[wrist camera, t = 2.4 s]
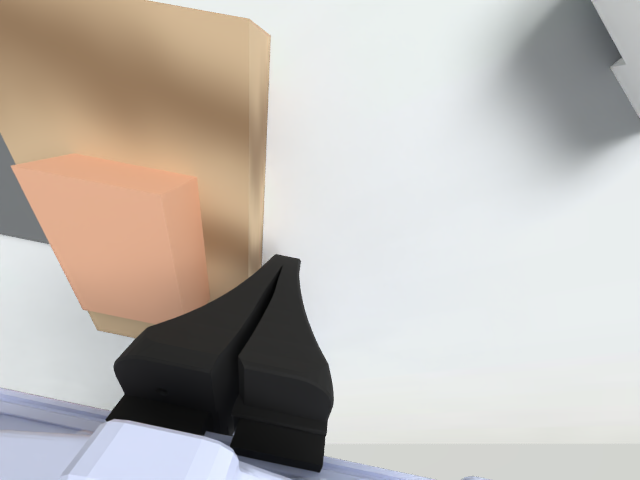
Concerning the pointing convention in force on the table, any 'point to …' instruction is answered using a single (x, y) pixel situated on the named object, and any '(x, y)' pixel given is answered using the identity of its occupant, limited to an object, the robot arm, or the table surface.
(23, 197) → the mat
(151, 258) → the block
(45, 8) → the board
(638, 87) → the bracket
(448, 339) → the table surface
